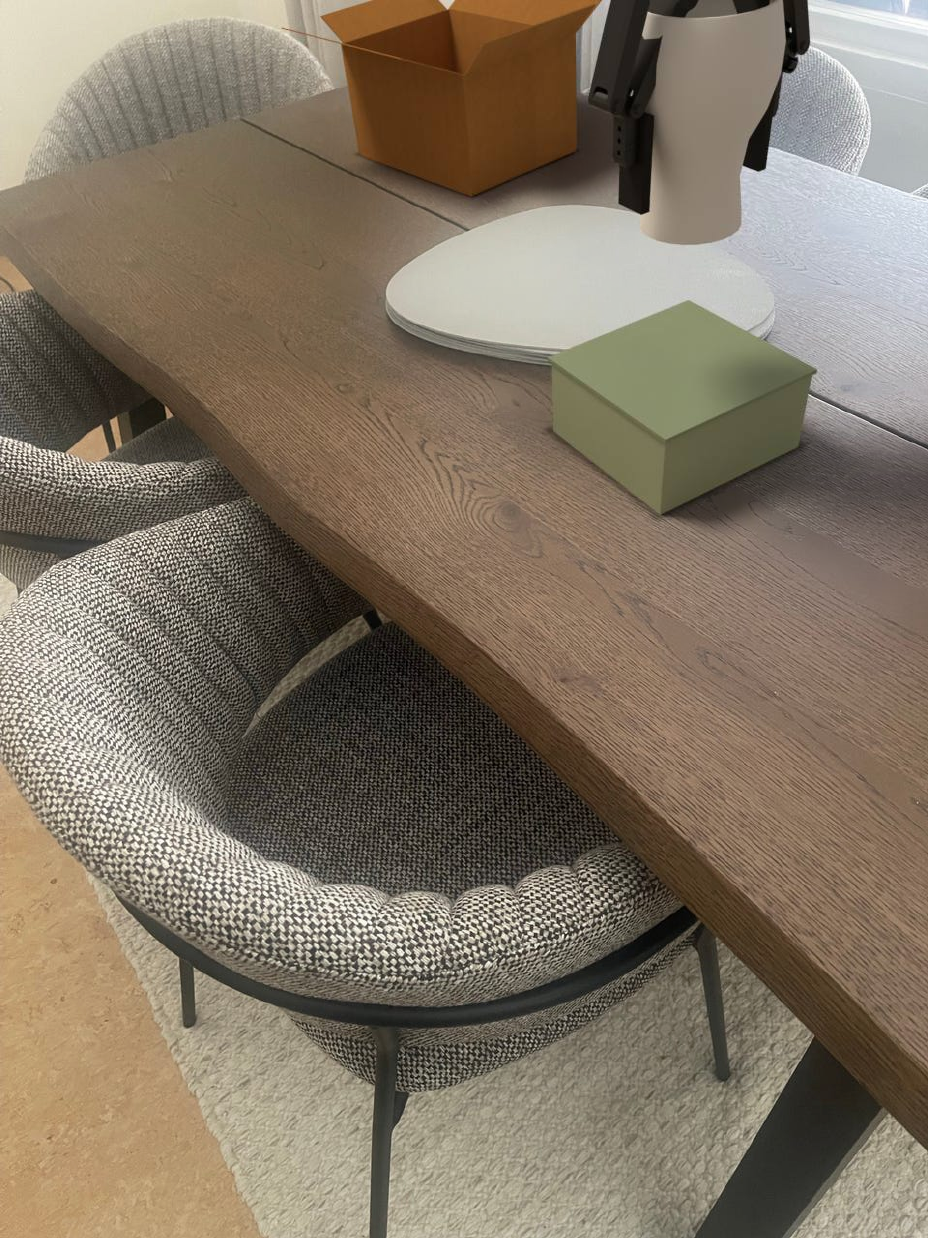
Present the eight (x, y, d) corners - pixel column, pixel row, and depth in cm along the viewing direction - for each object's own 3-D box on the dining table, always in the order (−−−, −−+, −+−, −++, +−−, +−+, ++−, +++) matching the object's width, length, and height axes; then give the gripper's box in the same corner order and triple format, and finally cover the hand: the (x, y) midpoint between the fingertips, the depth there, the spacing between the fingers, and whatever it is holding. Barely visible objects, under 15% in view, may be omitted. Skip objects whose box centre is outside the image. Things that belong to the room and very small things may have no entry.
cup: (730, 264, 67) (758, 25, 57) (597, 242, 72) (599, 16, 61) (780, 206, 73) (813, -20, 63) (654, 189, 78) (665, -25, 67)
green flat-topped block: (801, 447, 85) (817, 369, 79) (659, 517, 80) (665, 439, 74) (682, 373, 95) (688, 299, 90) (550, 431, 90) (547, 357, 85)
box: (440, 227, 126) (421, 54, 111) (292, 165, 147) (259, 14, 133) (638, 139, 142) (644, -23, 127) (478, 95, 163) (467, -48, 148)
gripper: (820, -230, 61) (771, 133, 76) (525, -171, 54) (538, 215, 69) (915, -229, 56) (842, 157, 72) (605, -165, 49) (600, 248, 65)
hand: (693, 186), depth 71 cm, fingers closed on cup, 11 cm apart
